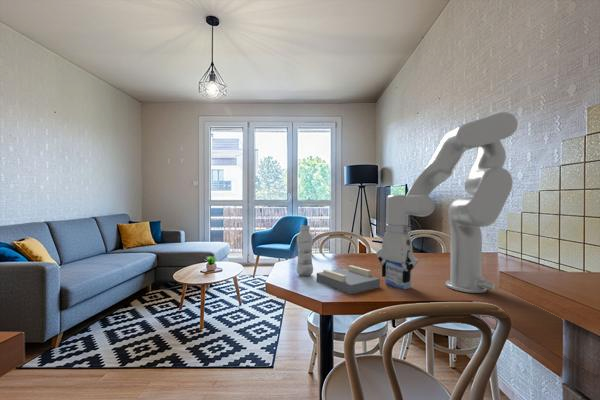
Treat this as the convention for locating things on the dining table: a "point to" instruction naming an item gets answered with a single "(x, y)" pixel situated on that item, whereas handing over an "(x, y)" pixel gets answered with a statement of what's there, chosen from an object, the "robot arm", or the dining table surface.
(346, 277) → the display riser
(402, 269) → the medicine box
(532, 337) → the dining table surface
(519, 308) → the dining table surface
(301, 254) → the plastic bottle
